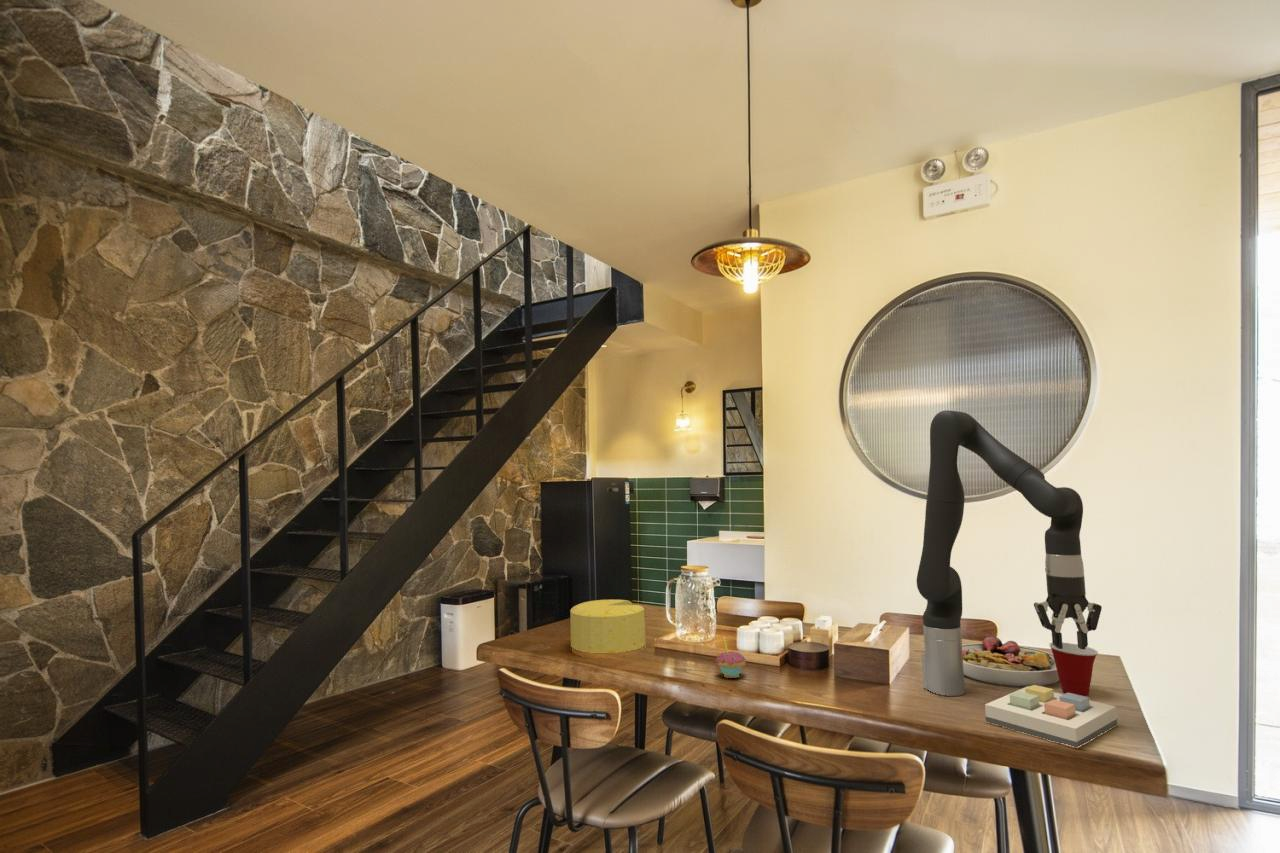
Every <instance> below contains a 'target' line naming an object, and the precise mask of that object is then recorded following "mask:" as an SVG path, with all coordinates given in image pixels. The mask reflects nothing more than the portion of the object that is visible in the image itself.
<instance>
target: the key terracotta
mask: <svg viewBox="0 0 1280 853" xmlns="http://www.w3.org/2000/svg"><path fill="white" fill-rule="evenodd" d="M1044 707H1045V714H1046V715H1050V716H1054V717H1058V718H1061V719H1065V720H1068V719H1070V718H1072V717H1074V716H1076V715H1075V705H1074V704H1070V703H1066V702H1062V701H1058V700H1054V699H1053V700H1051V701H1049V702H1047V703H1044Z"/></svg>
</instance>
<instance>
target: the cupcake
mask: <svg viewBox="0 0 1280 853" xmlns="http://www.w3.org/2000/svg"><path fill="white" fill-rule="evenodd" d="M722 636H723V639H722V640H723V646H724V649H725V650H724V651H723V652H722V653H720V654H719V655H717V657H716V658H715V662H716V665H718V667H720V670H721V674H722V673H723V674H725V675H730V676H736V675H739V674H740V675H741V671H742V668H743V667H745V666H746V663H747V661H746V658H745V657H744V656H743V654H741V653H740V652H737V651H729V648H728V645H727V640H726V637H725V635H724V634H722ZM723 674H722V675H723Z"/></svg>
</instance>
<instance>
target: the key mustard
mask: <svg viewBox="0 0 1280 853" xmlns="http://www.w3.org/2000/svg"><path fill="white" fill-rule="evenodd" d="M1024 688H1025V687H1024ZM1054 692H1055V691H1054V688H1051V687H1045V686H1037V685H1032V686H1030V687H1027V688H1025V693H1029V694H1033V695H1037V696H1039V702H1043V703H1047V702H1049V701H1051V700H1053V699H1054Z"/></svg>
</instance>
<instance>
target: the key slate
mask: <svg viewBox="0 0 1280 853" xmlns="http://www.w3.org/2000/svg"><path fill="white" fill-rule="evenodd" d="M1063 694H1064V695H1061V696H1059V698H1060V701H1062V702H1066V703H1070V704H1074V705H1075V711H1079V712H1084V711H1085V710H1087V709H1089V708H1090V702H1089V700H1090V696H1081V695H1077V694H1072V693H1063Z"/></svg>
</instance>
